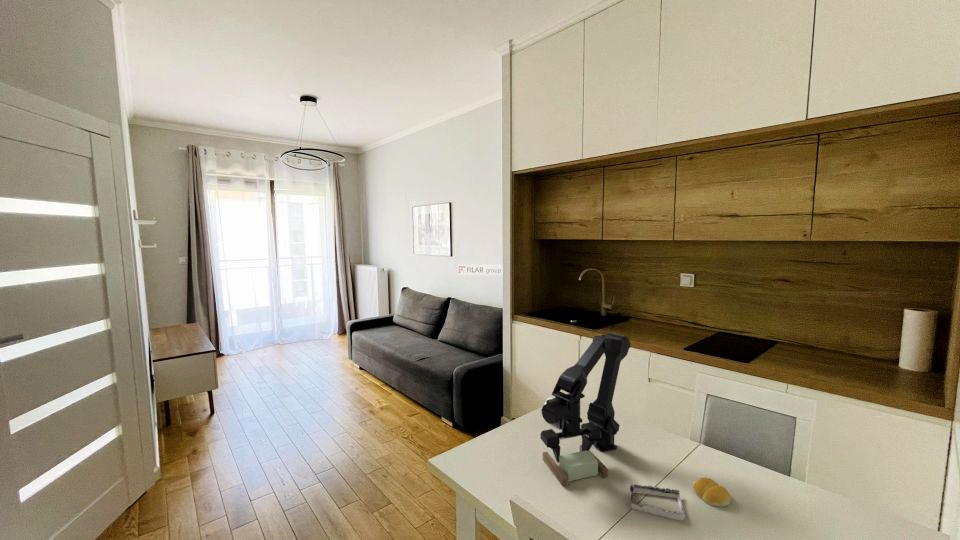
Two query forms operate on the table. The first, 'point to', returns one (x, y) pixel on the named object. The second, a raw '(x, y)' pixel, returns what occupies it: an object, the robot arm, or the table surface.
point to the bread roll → (711, 492)
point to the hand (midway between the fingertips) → (570, 459)
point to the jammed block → (578, 465)
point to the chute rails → (560, 474)
